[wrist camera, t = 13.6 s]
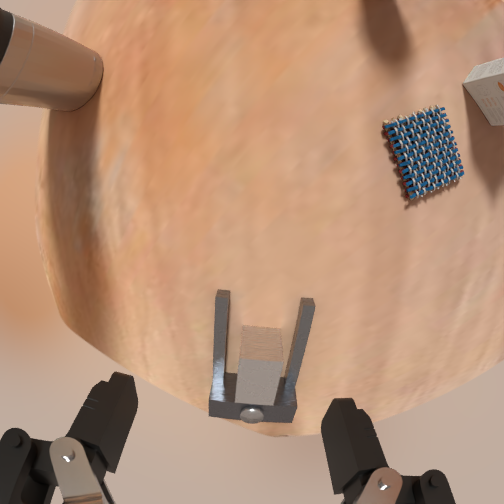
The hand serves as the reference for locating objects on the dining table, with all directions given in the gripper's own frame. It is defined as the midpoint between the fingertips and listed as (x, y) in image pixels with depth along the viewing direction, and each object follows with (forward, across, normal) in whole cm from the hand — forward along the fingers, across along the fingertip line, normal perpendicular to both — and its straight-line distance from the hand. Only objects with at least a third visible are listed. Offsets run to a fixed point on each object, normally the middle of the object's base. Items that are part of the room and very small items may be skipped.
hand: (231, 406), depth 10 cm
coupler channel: (+24, -4, +16) cm, 29 cm away
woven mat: (+24, -21, -15) cm, 35 cm away
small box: (+23, -31, -27) cm, 48 cm away
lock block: (+24, -4, +16) cm, 29 cm away
